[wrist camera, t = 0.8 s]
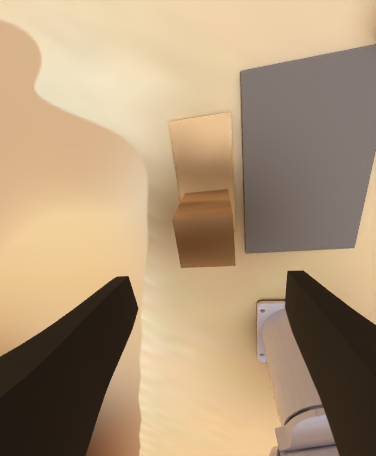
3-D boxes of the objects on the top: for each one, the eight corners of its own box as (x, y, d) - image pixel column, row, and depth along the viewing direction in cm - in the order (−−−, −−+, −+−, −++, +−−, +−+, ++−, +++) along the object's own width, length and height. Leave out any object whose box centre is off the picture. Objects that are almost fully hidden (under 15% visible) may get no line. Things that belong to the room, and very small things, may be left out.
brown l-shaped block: (234, 225, 19) (243, 269, 13) (187, 228, 19) (174, 271, 13) (229, 113, 15) (239, 100, 9) (171, 122, 16) (144, 116, 10)
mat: (351, 245, 18) (354, 247, 18) (245, 251, 20) (246, 253, 19) (394, 42, 12) (400, 39, 12) (240, 72, 14) (241, 70, 13)
